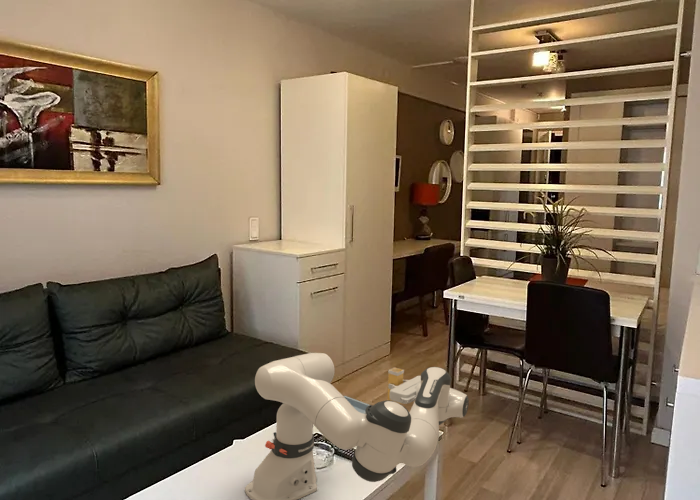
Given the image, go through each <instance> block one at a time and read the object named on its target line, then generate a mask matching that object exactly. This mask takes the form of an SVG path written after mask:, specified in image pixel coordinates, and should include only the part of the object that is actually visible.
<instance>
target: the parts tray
mask: <svg viewBox="0 0 700 500" xmlns="http://www.w3.org/2000/svg"><path fill="white" fill-rule="evenodd" d="M343 396H344V397H345V398H346V399H347V401H348V402H349V403H350V404H351V405H352V406H353V407H354V408H355V409H356V410H357V411H358V412H360V413H363V414H366V411H365V410H366V408H367V407H368V406H369V405H370V404H369V403H366V402H363V401H360V400H357V399H355V398H352V397H349V396H346V395H343Z"/></svg>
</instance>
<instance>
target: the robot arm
mask: <svg viewBox="0 0 700 500" xmlns="http://www.w3.org/2000/svg"><path fill="white" fill-rule="evenodd" d="M335 370H336V369H335V364H334V362H333V360H332V358H331V357H330V356H329V355H328V354H327V353H322V352H309V353H308V352H307V353H304V354H299V355H294V356H292V357H291V356H290V357H287V358H286V357H285V358H281V359H278V360H273V361H270V362H269V363H266V364H264V365H262V366H260V367H259V368H258V369H257V371H256V374H255V377H254V385H255V389H256V391H257V393H258V394H259V395H260V396H261V398H263V399H264V400H270V401H274V402H275V401H276V402H280V403H282V404H281V405H280V406H279V408H277V412H276V428H275V429H276V430H275V432H276V435H275V438H274V439H273V441H272V442H271V441H270V440H267V441H266V442H265V445H264V447H265V448H267V449H269V450H270V451H269V453H267V455H266V456H265V457H264V458H263V460H262V461H261V462H260V464H259V465H258V466H257V467H256V469H255V471H254V475H253V479H252V481H250V482H249V483H248V484H247V485H246V486H245V487H244V492H245V494H246V496H247V497H248V498H249V499H251V500H299V499H301V498H304V497H306V496H308V495H310V494H312V493H315V492H317V491H318V484H317V480H318V477H317V473H316V468H315V459H314V458H315V457H314V448H315V436H314V432H313V430H314V427H315V428H316V429H317V430H318V431H319V432H320V434H321V435H322V436H324V438H326V440H327V441H329V442H330V443H332V444H333V445H334V446H336V447H337V448H338V449H341V450H344V451H345V450H346V451H347V450H352V449H354V448H355V450H354V451H353V453H352V459H351V466H352V469H353V471H354V472H355V474H357V476H358V477H359V478H361V479H362V480H364V481H366V482H369V483H376V482H380V481H383V480H384V479H386V478H387V477H389V476H391V475H394V474H395V473H397V466H398V465H400V464H403V465H405V466H408V467H411V468H417V467H421V466H422V465H424V464H426V462H428V460H429V459H430V458H431V457H432V456H433V454H434V452H435V450H436V448H437V446H438V443H439V437H440V426H441V425H442V424H443V423H445V422H446V421H447V420H448V419H450V418H465V416H466V415H467V413H468V409H469V403H470V402H469V401H470V399H469V397H468V395H467V394H466V393H464V392H462V391H460V390H457V389H455V388H452V387H451V383H452V377H451V375H450V373H449V372H448V371H447V370H446V369H445V368H443V367H438V366H431V367H430V366H429V367H427V368H426V369H424V370H423V371H422V372H421V373H420V375H417V376H414V377H413V378H411V379H403V384H401V385H399V386H395V384H393V383H390V384H388V383H387V389H388V388H389V389H391V390H390V399H391V400H392V401H390V400H387V399H386V400H382V401H378V402H376V403H374V404H373V405H372V404H369V406H368V407H367V408H366V410H365V411H366V414H363V413H360V412H358V411H357V410H356V409H355V408H354V407H353V406H352V405H351V404H350V403H349V402H348V401H347V399H346V398H345V397H344V396H345V395H343V393H341V392H340V391H339V390H338V388H336V387H335V386H334V385H333V384H332V383H331V382H332V381H333V379H334V377H335ZM394 401H395V402H394ZM397 402H399V403H402V404H404V405H407V404H411V403H413V404H412V406H411V407H410V408H411V409H410V410H408V408H406V406H404V405H402V404H399V403H397Z"/></svg>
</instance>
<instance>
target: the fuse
mask: <svg viewBox="0 0 700 500" xmlns="http://www.w3.org/2000/svg"><path fill="white" fill-rule="evenodd" d="M387 373H388V377H387V385H388V384H390V383H393V384H395V386H399V385H401V384H403V380H404V375H405V369H402V368H399V367H396V366H394V367H392V368H390V369H388V370H387ZM390 390H391V389H389V388H388V387H387V399H386V400H390V401H392V400H391V399H390ZM394 402H395V401H394ZM397 403H399V402H397ZM399 404H401V405H402V404H403V403H399Z"/></svg>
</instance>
